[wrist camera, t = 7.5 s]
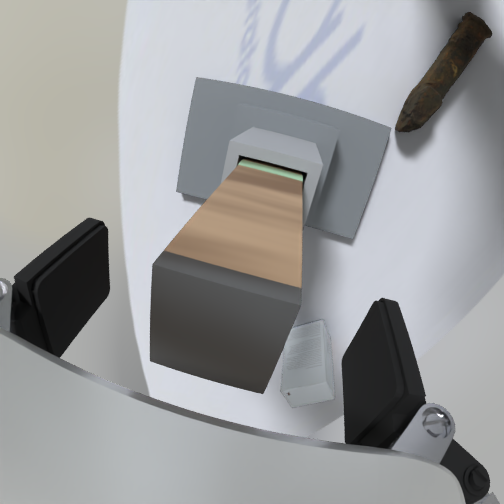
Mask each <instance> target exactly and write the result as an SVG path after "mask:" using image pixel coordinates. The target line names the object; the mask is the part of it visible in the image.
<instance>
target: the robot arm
mask: <svg viewBox="0 0 504 504" xmlns="http://www.w3.org/2000/svg"><path fill="white" fill-rule="evenodd" d="M108 257H109V255H108V229H107V227H106V226H105V224H104V222H103V221H99V220H96V219H93V218H87V219H86V220H85V221H83V222H82V223H80V224H79V225H77V226H76V227H75V228H73V229H72V230H71V231H70V232H68V233H67V234H65V235H64V236H63V237H62V238H60V239H59V240H58V241H57V242H55V243H54V244H53V245H51V246H50V247H49V248H47V249H46V250H45V251H44V252H43V253H41V254H40V255H39V256H38V257H36V258H35V259H34V260H33V261H32V262H30V263H29V264H28V265H27V266H26V267H24V268H23V269H22V270H21V271H20V272H18V273H17V274H16V275H15V276H14V279H15V283H14V284H13V285H11V283H10V282H9V281H8V280H6V279H3V278H0V504H500V503H499V502H498V500H497V498H496V497H495V495H494V493H493V492H492V493H490V494H489V493H488V491H489V487H490V479H489V475H488V472H487V470H486V469H485V468H484V467H483V465H481V464H480V463H479V462H478V461H477V460H476V459H475V458H474V457H473V456H471V455H470V454H469V453H468V452H467V451H466V450H465V449H464V448H462V446H460V445H459V444H458V443H457V442H456V441H455V440H454V439H453V436H454V433H455V423H454V420H453V418H452V416H451V415H450V413H449V412H448V411H447V410H446V409H445V408H444V407H442V406H440V405H438V404H435V403H428V404H426V401H425V396H426V395H425V391H424V387H423V383H422V379H421V376H420V372H419V368H418V365H417V361H416V358H415V354H414V351H413V347H412V344H411V341H410V338H409V334H408V331H407V328H406V325H405V322H404V319H403V316H402V313H401V310H400V307H399V304H398V302H396V301H393V300H389V299H385V298H381V299H380V300H379V301H374V303H373V304H372V306H371V308H370V310H369V311H368V313H367V315H366V317H365V319H364V321H363V322H362V324H361V326H360V328H359V329H358V331H357V333H356V335H355V336H354V338H353V340H352V342H351V343H350V345H349V347H348V348H347V350H346V352H345V353H344V355H343V358H342V378H343V398H344V421H345V422H344V426H345V443H346V444H343V443H336V442H329V441H323V440H316V439H310V438H304V437H298V436H292V435H287V434H281V433H276V432H272V431H267V430H262V429H258V428H253V427H249V426H245V425H241V424H237V423H233V422H229V421H225V420H221V419H218V418H214V417H210V416H207V415H203V414H200V413H197V412H193V411H190V410H187V409H184V408H181V407H178V406H175V405H171V404H169V403H166V402H163V401H160V400H157V399H154V398H151V397H149V396H146V395H143V394H141V393H138V392H135V391H133V390H130V389H128V388H125V387H123V386H120V385H118V384H115V383H113V382H110V381H108V380H106V379H103V378H101V377H99V376H96V375H94V374H92V373H90V372H88V371H85V370H83V369H81V368H79V367H77V366H75V365H73V364H70V363H68V362H66V361H64V360H62V359H60V357H61V356H62V354H63V353H64V352H65V350H66V349H67V348H68V346H69V345H70V343H71V342H72V341H73V340H74V338H75V337H76V336H77V335H78V333H79V332H80V331H81V329H82V328H83V327H84V325H85V324H86V323H87V321H88V320H89V319H90V318H91V316H92V315H93V314H94V313H95V312H96V310H97V309H98V308H99V306H100V305H101V304H102V303H103V302H104V300H105V299H106V298H107V296H108V294H109V291H110V281H109V280H110V279H109V258H108Z"/></svg>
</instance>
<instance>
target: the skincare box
mask: <svg viewBox="0 0 504 504" xmlns="http://www.w3.org/2000/svg"><path fill="white" fill-rule="evenodd" d="M280 391H281V393H282V394H283V395H284V397H285V398H286V400H287V401H288V403H289V404H290V406H291V407H292V408H295V407H300V406H304V405H309V404H315V403H319V402H324V401H329V400H333V399H335V392H334V376H333V362H332V349H331V338H330V335H329V333H328V330H327V328H326V325H325V322H324V320H323V319H322V320H318V321H315V322H312V323H308V324H304V325H301V326H297V327H293V328H292V329H291V331H290V334H289V336H288V338H287V341H286V343H285V346H284V357H283V369H282V380H281V389H280Z"/></svg>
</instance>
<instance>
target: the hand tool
mask: <svg viewBox="0 0 504 504" xmlns="http://www.w3.org/2000/svg"><path fill="white" fill-rule="evenodd" d="M462 20H463V22H461V23H459V24H458V29H457V30H456V31H455V33H454V34H453V35H452V36H451V38H450V39H449V42H448V44H447V45H446V46H445V47H444V49H443V50H442V51H441V52H440V54H439V56H438V57H437V59H436V60H435V62H434V63H433V64H432V66H431V67H430V69H429V70H428V71H427V73H426V74H425V76H424V77H423V78H422V80H421V81H420V82H419V84H418V85H417V86H416V87H415V88H414V89H413V90H412V91H411V93H410V94H409V96H408V98H407V99H406V101H405V103H404V106H403V108H402V110H401V113H400V115H399V118H398V121H397V123H396V127H395V130H396V131H399V132H410V131H412V130H416V129H419V128H421V127H422V126H423V125H424V123H425V122H426V121H427V120H428V119H429V118H430V117H431V116H432V115H433V114H434V113H435V112H436V111H437V110H438V109H439V108H440V106H441V104H442V99H443V98H444V96H445V95H446V93H447V92H448V91H449V89H450V87H451V86H452V85H453V84H454V83H455V81H456V80H457V79H458V78H459V76H460V75H461V74H462V72H463V71H464V69H465V68H466V67H467V65H468V64H469V62H470V61H471V60H472V58H473V57H474V55H475V54H476V52H477V51H478V49H479V48H480V46H481V45H482V43H483V42H484V40H485V39H487V38H490V37H491V36H492V31H491V30H490V28H489V27H488V26H487V25H486V23H485V22H484V20H482V19H481V18H479V17H477V16H476V15H474V14H472V13H471V12H467V13H465V15H464V16H463V17H462Z"/></svg>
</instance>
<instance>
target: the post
mask: <svg viewBox="0 0 504 504" xmlns="http://www.w3.org/2000/svg"><path fill="white" fill-rule="evenodd" d="M302 182H303V175H302V171H299V170H296V169H292V168H288V167H285V166H281V165H277V164H273V163H270V162H266V161H262V160H258V159H254V158H250V157H245V158H244V159H243V160H241V161H240V163H239V164H238V166H237V167H236V168H235V169H234V170H233V171H232V172H231V173H230V174H229V176H228V177H227V178H226V179H225V180H224V181H223V182H222V183H221V184H220V186H219V187H218V188H217V189H216V190H215V191H214V192H213V193H212V194H211V196H210V197H209V198H208V199H207V200H206V201H205V202H204V204H203V205H202V206H201V207H200V208H199V209H198V210H197V212H196V213H195V214H194V215H193V216H192V217H191V219H190V220H189V221H188V222H187V223H186V224H185V226H184V227H183V228H182V229H181V230H180V232H179V233H178V234H177V235H176V236H175V238H174V239H173V240H172V241H171V242H170V244H169V245H168V246H167V247H166V248H165V250H164V251H163V252H162V253H161V254H160V256H159V257H158V258H157V259H156V261H155V262H154V263H153V266H152V285H151V310H150V361H151V362H154V363H157V364H160V365H163V366H166V367H169V368H172V369H175V370H178V371H181V372H184V373H187V374H191V375H194V376H197V377H200V378H204V379H207V380H211V381H214V382H218V383H221V384H225V385H229V386H233V387H236V388H240V389H244V390H248V391H252V392H256V393H261V394H263V393H264V391H265V389H266V387H267V385H268V382H269V380H270V378H271V376H272V373H273V371H274V369H275V366H276V364H277V362H278V360H279V357H280V355H281V353H282V350H283V348H284V345H285V343H286V341H287V338H288V336H289V334H290V331H291V329H292V326H293V324H294V321H295V319H296V316H297V314H298V311H299V309H300V306H301V286H302Z"/></svg>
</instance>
